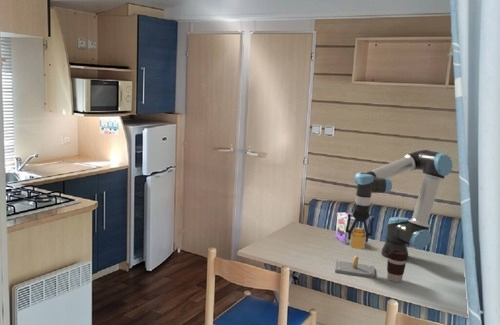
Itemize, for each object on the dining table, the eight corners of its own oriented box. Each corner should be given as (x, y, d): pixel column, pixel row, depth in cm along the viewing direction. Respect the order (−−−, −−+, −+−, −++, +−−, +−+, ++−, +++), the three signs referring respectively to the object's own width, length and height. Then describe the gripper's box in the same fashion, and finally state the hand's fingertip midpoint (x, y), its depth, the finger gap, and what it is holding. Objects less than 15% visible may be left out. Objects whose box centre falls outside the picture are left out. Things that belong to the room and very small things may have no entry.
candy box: (334, 236, 314) (337, 212, 311) (342, 236, 315) (345, 212, 313) (344, 244, 301) (347, 218, 298) (353, 243, 302) (356, 218, 300)
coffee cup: (389, 274, 256) (392, 247, 254) (407, 280, 250) (411, 252, 248) (381, 279, 249) (384, 251, 246) (399, 285, 243) (403, 257, 240)
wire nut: (363, 245, 259) (365, 228, 257) (363, 249, 252) (365, 231, 251) (351, 244, 260) (352, 226, 258) (351, 248, 254) (352, 230, 252)
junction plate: (373, 268, 263) (375, 255, 262) (374, 278, 250) (376, 264, 248) (336, 263, 267) (337, 249, 266) (334, 272, 254) (336, 258, 252)
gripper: (381, 204, 254) (375, 247, 258) (343, 199, 258) (338, 241, 262) (381, 208, 247) (376, 251, 251) (343, 203, 251) (338, 245, 254)
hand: (357, 246), depth 256 cm, fingers closed on wire nut, 6 cm apart
